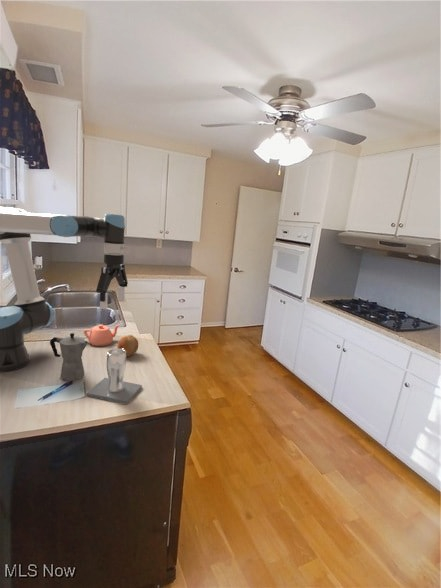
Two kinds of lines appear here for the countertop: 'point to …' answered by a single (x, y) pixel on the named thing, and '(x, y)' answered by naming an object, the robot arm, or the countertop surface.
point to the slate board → (120, 397)
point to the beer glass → (116, 369)
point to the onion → (128, 344)
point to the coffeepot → (70, 356)
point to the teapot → (100, 335)
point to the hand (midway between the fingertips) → (112, 305)
